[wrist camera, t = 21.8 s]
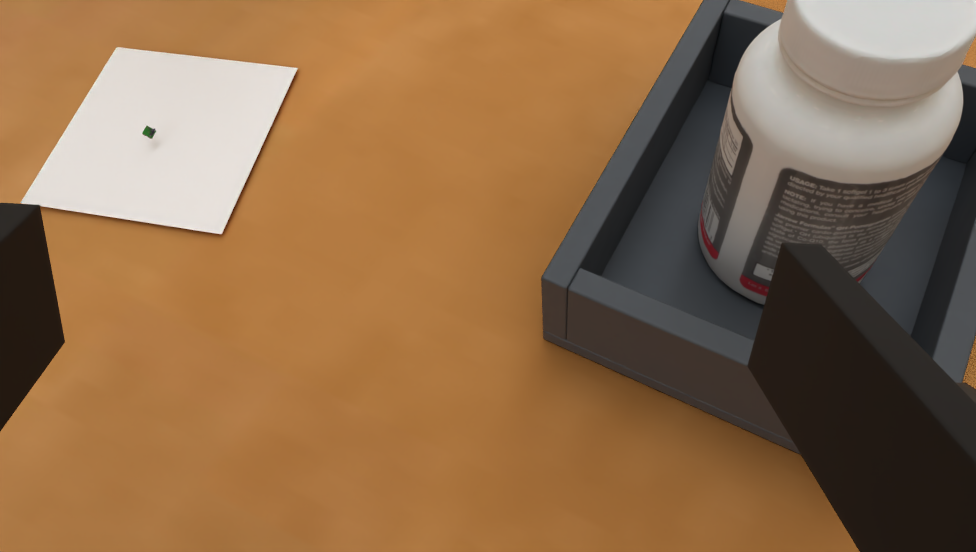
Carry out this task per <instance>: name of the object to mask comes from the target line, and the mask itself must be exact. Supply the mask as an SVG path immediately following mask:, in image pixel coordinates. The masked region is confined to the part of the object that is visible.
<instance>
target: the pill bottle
mask: <svg viewBox="0 0 976 552" xmlns="http://www.w3.org/2000/svg"><path fill="white" fill-rule="evenodd" d="M975 37H976V0H787V3H786V6H785V10H784V13H783V15H782V19H780V20H778V21H776V22H775V23H773V24H772V25H770V26H769V27H767V28H766V29H765V30H763V31H762V32H761V33H760V34H759V35H758V36H757V37H756V38H755V39H754V40H753V41H752V42H751V44H750V45H749V46H748V48H747V49H746V51H745V52H744V54H743V56H742V58H741V60H740V63H739V65H738V68H737V70H736V72H735V75H734V80H733V84H732V89H731V92H730V96H729V100H728V104H727V108H726V112H725V116H724V120H723V123H722V127H721V131H720V136H719V140H718V143H717V146H716V151H715V155H714V159H713V163H712V167H711V171H710V175H709V178H708V183H707V186H706V190H705V193H704V197H703V201H702V206H701V211H700V215H699V220H698V238H699V243H700V247H701V250H702V253H703V255H704V257H705V259H706V261H707V263H708V265H709V266H710V268H711V269H712V270H713V272H714V273H715V274H716V275H717V277H718V278H719V279H720V280H722V281H723V282H724V283H725V284H726V285H727V286H729V287H730V288H731V289H733V290H734V291H736V292H738V293H739V294H741V295H743V296H745V297H746V298H748V299H750V300H752V301H754V302H757V303H759V304H763V305H764V304H765V301H766V297H767V294H768V290H769V286H770V283H771V279H772V276H773V272H774V269H775V265H776V261H777V258H778V254H779V251H780V247H781V244H782V243H802V244H821V245H822V246H823V247H824V248H825V249H826V250H827V251H828V252H829V253H830V254H831V255H832V256H833V257H834V258H835V259H836V260H837V261H838V262H839V263H840V264H841V265H842V266H843V267H844V268H845V269H846V270H847V271H848V272H849V273H850V275H851V276H852V277H853V278H854V279H855V280H856V281H857V282H858V283H860V282H861V281H862V279H863V278H864V277H865V275H866V274H867V272H868V271H869V270H870V268H871V267H872V265H873V264H874V262H875V261H876V259H877V257H878V256H879V254H880V253H881V251H882V250H883V248H884V246H885V245H886V243H887V242H888V240H889V239H890V237H891V236H892V234H893V232H894V231H895V229H896V227H897V226H898V224H899V223H900V221H901V219H902V218H903V216H904V214H905V213H906V211H907V210H908V208H909V206H910V205H911V203H912V201H913V200H914V198H915V197H916V195H917V193H918V192H919V190H920V189H921V187H922V186H923V184H924V183H925V181H926V180H927V178H928V176H929V175H930V173H931V172H932V170H933V169H934V167H935V166H936V164H937V163H938V162H939V160H940V158H941V157H942V155H943V154H944V152H945V150H946V149H947V147H948V146H949V144H950V142H951V141H952V138H953V135H954V134H955V131H956V129H957V127H958V125H959V122H960V119H961V114H962V108H963V90H962V84H961V80H960V77H959V74H958V72H957V71H958V70H959V69H960V67H961V66H962V64H963V61H964V59H965V56H966V54H967V52H968V50H969V48H970V46H971V44H972V42H973V40H974V38H975Z"/></svg>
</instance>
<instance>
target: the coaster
mask: <svg viewBox="0 0 976 552" xmlns="http://www.w3.org/2000/svg"><path fill="white" fill-rule="evenodd" d="M297 69H298V68H293V67H284V66H275V65H267V64H258V63H249V62H241V61H232V60H223V59H215V58H206V57H197V56H189V55H180V54H171V53H163V52H154V51H145V50H137V49H128V48H120V47H116V49H115V51H114V52H113V54H112V56H111V57H110V59H109V60H108V62H107V64H106V65H105V67H104V68H103V70H102V72H101V73H100V75H99V77H98V78H97V80H96V81H95V83H94V85H93V86H92V88H91V90H90V91H89V93H88V94H87V96H86V98H85V99H84V101H83V102H82V104H81V106H80V107H79V109H78V111H77V112H76V114H75V115H74V117H73V119H72V120H71V122H70V124H69V125H68V127H67V128H66V130H65V132H64V133H63V135H62V136H61V138H60V140H59V141H58V143H57V145H56V146H55V148H54V149H53V151H52V153H51V154H50V156H49V158H48V159H47V161H46V162H45V164H44V166H43V167H42V169H41V170H40V172H39V174H38V175H37V177H36V179H35V180H34V182H33V183H32V185H31V187H30V188H29V190H28V192H27V193H26V195H25V196H24V198H23V200H22V201H21V203H24V204H33V205H40V206H43V207H50V208H56V209H62V210H69V211H75V212H82V213H88V214H95V215H101V216H107V217H114V218H120V219H127V220H133V221H140V222H146V223H152V224H159V225H165V226H172V227H178V228H184V229H191V230H197V231H204V232H210V233H217V234H222V232H223V230H224V228H225V226H226V224H227V221H228V219H229V217H230V215H231V213H232V210H233V208H234V206H235V204H236V202H237V200H238V197H239V195H240V193H241V191H242V189H243V186H244V184H245V182H246V180H247V178H248V176H249V173H250V171H251V169H252V167H253V165H254V162H255V160H256V158H257V156H258V154H259V152H260V149H261V147H262V145H263V143H264V141H265V138H266V136H267V134H268V132H269V130H270V127H271V125H272V123H273V121H274V119H275V117H276V114H277V112H278V110H279V108H280V106H281V103H282V101H283V99H284V97H285V95H286V93H287V90H288V88H289V86H290V84H291V82H292V79H293V77H294V75H295V73H296V71H297Z"/></svg>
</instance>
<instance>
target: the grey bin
mask: <svg viewBox="0 0 976 552" xmlns="http://www.w3.org/2000/svg"><path fill="white" fill-rule="evenodd" d="M782 15H783V13H782V12H778V11H775V10H771V9H768V8H765V7H761V6H758V5H754V4H751V3H747V2H744V1H740V0H703V2H702V3H701V5H700V7H699V9H698V10H697V12H696V14H695V15H694V17H693V19H692V21H691V22H690V24H689V26H688V27H687V29H686V31H685V33H684V34H683V36H682V38H681V39H680V41H679V43H678V44H677V46H676V48H675V50H674V51H673V53H672V55H671V56H670V58H669V60H668V62H667V63H666V65H665V67H664V68H663V70H662V72H661V74H660V75H659V77H658V79H657V80H656V82H655V84H654V86H653V87H652V89H651V91H650V92H649V94H648V96H647V98H646V99H645V101H644V103H643V104H642V106H641V108H640V110H639V111H638V113H637V115H636V116H635V118H634V120H633V121H632V123H631V125H630V127H629V128H628V130H627V132H626V133H625V135H624V137H623V139H622V140H621V142H620V144H619V145H618V147H617V149H616V151H615V152H614V154H613V156H612V157H611V159H610V161H609V163H608V164H607V166H606V168H605V169H604V171H603V173H602V175H601V176H600V178H599V180H598V181H597V183H596V185H595V186H594V188H593V190H592V192H591V193H590V195H589V197H588V198H587V200H586V202H585V204H584V205H583V207H582V209H581V210H580V212H579V214H578V216H577V217H576V219H575V221H574V222H573V224H572V226H571V228H570V229H569V231H568V233H567V234H566V236H565V238H564V240H563V241H562V243H561V245H560V246H559V248H558V250H557V251H556V253H555V255H554V257H553V258H552V260H551V262H550V263H549V265H548V267H547V269H546V270H545V272H544V274H543V275H542V278H541V281H542V313H543V338H544V339H545V340H547V341H550V342H552V343H554V344H556V345H559V346H561V347H563V348H565V349H567V350H570V351H572V352H574V353H576V354H579V355H581V356H583V357H585V358H587V359H590V360H592V361H594V362H596V363H599V364H601V365H603V366H605V367H607V368H610V369H612V370H614V371H616V372H619V373H621V374H623V375H625V376H627V377H630V378H632V379H634V380H636V381H639V382H641V383H643V384H645V385H647V386H650V387H652V388H654V389H656V390H659V391H661V392H663V393H665V394H667V395H670V396H672V397H674V398H676V399H679V400H681V401H683V402H685V403H687V404H690V405H692V406H694V407H696V408H699V409H701V410H703V411H705V412H707V413H710V414H712V415H714V416H716V417H719V418H721V419H723V420H725V421H727V422H730V423H732V424H734V425H736V426H738V427H741V428H743V429H745V430H747V431H750V432H752V433H754V434H756V435H758V436H761V437H763V438H765V439H767V440H770V441H772V442H774V443H776V444H778V445H781V446H783V447H785V448H787V449H790V450H792V451H794V452H796V453H798V454H800V452H799V451H798V449H797V447H796V446H795V444H794V442H793V441H792V439H791V437H790V436H789V434H788V432H787V431H786V429H785V427H784V426H783V424H782V423H781V421H780V419H779V418H778V416H777V414H776V413H775V411H774V409H773V408H772V406H771V404H770V403H769V401H768V399H767V398H766V396H765V395H764V393H763V391H762V390H761V388H760V386H759V385H758V383H757V381H756V380H755V378H754V376H753V375H752V373H751V371H750V370H749V368H748V367H747V365H748V361H749V358H750V354H751V351H752V347H753V344H754V340H755V336H756V333H757V329H758V326H759V322H760V319H761V315H762V311H763V308H764V305H763V304H759V303H757V302H754V301H752V300H750V299H748V298H746V297H745V296H743V295H741V294H739V293H738V292H736V291H734V290H733V289H731V288H730V287H729V286H727V285H726V284H725V283H724V282H723V281H722V280H720V279H719V278H718V277H717V275H716V274H715V273H714V272H713V270H712V269H711V268H710V266H709V265H708V263H707V261H706V259H705V257H704V255H703V253H702V250H701V247H700V243H699V238H698V220H699V215H700V211H701V206H702V201H703V197H704V193H705V190H706V186H707V183H708V178H709V175H710V171H711V167H712V163H713V159H714V155H715V151H716V146H717V143H718V140H719V136H720V131H721V127H722V123H723V120H724V116H725V112H726V108H727V104H728V100H729V96H730V92H731V89H732V84H733V80H734V75H735V72H736V70H737V68H738V65H739V63H740V60H741V58H742V56H743V54H744V52H745V51H746V49H747V48H748V46H749V45H750V44H751V42H752V41H753V40H754V39H755V38H756V37H757V36H758V35H759V34H760V33H761V32H762V31H763V30H765V29H766V28H767V27H769V26H770V25H772V24H773V23H775V22H776V21H778V20H780V19H782ZM957 72H958V74H959V77H960V80H961V84H962V90H963V108H962V114H961V119H960V122H959V125H958V127H957V129H956V131H955V134H954V135H953V138H952V141H951V142H950V144H949V146H948V147H947V149H946V150H945V152H944V154H943V155H942V157H941V158H940V160H939V162H938V163H937V164H936V166H935V167H934V169H933V170H932V172H931V173H930V175H929V176H928V178H927V180H926V181H925V183H924V184H923V186H922V187H921V189H920V190H919V192H918V193H917V195H916V197H915V198H914V200H913V201H912V203H911V205H910V206H909V208H908V210H907V211H906V213H905V214H904V216H903V218H902V219H901V221H900V223H899V224H898V226H897V227H896V229H895V231H894V232H893V234H892V236H891V237H890V239H889V240H888V242H887V243H886V245H885V246H884V248H883V250H882V251H881V253H880V254H879V256H878V257H877V259H876V261H875V262H874V264H873V265H872V267H871V268H870V270H869V271H868V272H867V274H866V275H865V277H864V278H863V279H862V281H861V282H860V283H859V284H860V285H861V286H862V287H863V288H864V289H865V290H866V291H867V292H868V293H869V294H870V295H871V296H872V297H873V298H874V299H875V300H876V301H877V302H878V303H879V304H880V305H881V306H882V307H883V308H884V309H885V311H886V312H887V313H888V314H889V315H890V316H891V317H892V318H893V319H894V320H895V321H896V322H897V323H898V324H899V325H900V326H901V327H902V328H903V329H904V330H905V331H906V332H907V333H908V334H909V335H910V336H911V337H912V338H913V339H914V340H915V341H916V342H917V343H918V344H919V345H920V347H921V348H922V349H923V350H924V351H925V352H926V353H927V354H928V355H929V356H930V357H931V358H932V359H933V360H934V361H935V362H936V363H937V364H938V365H939V366H940V367H941V368H942V369H943V370H944V371H945V372H946V373H947V374H948V375H949V376H950V377H951V378H952V379H953V380H954V381H955V383H962V382H963V378H964V374H965V371H966V367H967V364H968V360H969V357H970V353H971V350H972V346H973V343H974V339H975V336H976V68H973V67H969V66H966V65H962V66H961V67H960V69H959V70H958V71H957Z"/></svg>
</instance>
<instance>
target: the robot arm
mask: <svg viewBox="0 0 976 552" xmlns="http://www.w3.org/2000/svg"><path fill="white" fill-rule="evenodd" d="M64 343H65V340H64V334H63V329H62V324H61V318H60V313H59V307H58V302H57V296H56V291H55V286H54V280H53V275H52V269H51V264H50V259H49V253H48V248H47V242H46V237H45V231H44V226H43V221H42V215H41V210H40V205H33V204H14V203H0V431H1V430H2V428H3V427H4V425H5V424H6V423H7V421H8V420H9V419H10V417H11V416H12V414H13V413H14V412H15V410H16V409H17V407H18V406H19V405H20V403H21V402H22V401H23V399H24V398H25V396H26V395H27V394H28V392H29V391H30V390H31V388H32V387H33V385H34V384H35V383H36V381H37V380H38V378H39V377H40V376H41V374H42V373H43V372H44V370H45V369H46V367H47V366H48V365H49V363H50V362H51V360H52V359H53V358H54V356H55V355H56V354H57V352H58V351H59V349H60V348H61V347H62V345H63V344H64ZM747 367H748V368H749V370H750V371H751V373H752V375H753V376H754V378H755V380H756V381H757V383H758V385H759V386H760V388H761V390H762V391H763V393H764V395H765V396H766V398H767V399H768V401H769V403H770V404H771V406H772V408H773V409H774V411H775V413H776V414H777V416H778V418H779V419H780V421H781V423H782V424H783V426H784V427H785V429H786V431H787V432H788V434H789V436H790V437H791V439H792V441H793V442H794V444H795V446H796V447H797V449H798V451H799V452H800V454H801V456H802V457H803V459H804V460H805V462H806V464H807V465H808V467H809V469H810V470H811V472H812V474H813V475H814V477H815V479H816V480H817V482H818V484H819V485H820V487H821V488H822V490H823V492H824V493H825V495H826V497H827V498H828V500H829V502H830V503H831V505H832V507H833V508H834V510H835V512H836V513H837V515H838V516H839V518H840V520H841V521H842V523H843V525H844V526H845V528H846V530H847V531H848V533H849V535H850V536H851V538H852V540H853V541H854V543H855V545H856V546H857V548H858V549H859V551H860V552H976V389H974V388H973V387H971V386H970V385H968V384H966V383H955V381H954V380H953V379H952V378H951V377H950V376H949V375H948V374H947V373H946V372H945V371H944V370H943V369H942V368H941V367H940V366H939V365H938V364H937V363H936V362H935V361H934V360H933V359H932V358H931V357H930V356H929V355H928V354H927V353H926V352H925V351H924V350H923V349H922V348H921V347H920V345H919V344H918V343H917V342H916V341H915V340H914V339H913V338H912V337H911V336H910V335H909V334H908V333H907V332H906V331H905V330H904V329H903V328H902V327H901V326H900V325H899V324H898V323H897V322H896V321H895V320H894V319H893V318H892V317H891V316H890V315H889V314H888V313H887V312H886V311H885V309H884V308H883V307H882V306H881V305H880V304H879V303H878V302H877V301H876V300H875V299H874V298H873V297H872V296H871V295H870V294H869V293H868V292H867V291H866V290H865V289H864V288H863V287H862V286H861V285H860V284H859V283H858V282H857V281H856V280H855V279H854V278H853V277H852V276H851V275H850V273H849V272H848V271H847V270H846V269H845V268H844V267H843V266H842V265H841V264H840V263H839V262H838V261H837V260H836V259H835V258H834V257H833V256H832V255H831V254H830V253H829V252H828V251H827V250H826V249H825V248H824V247H823V246H822V245H821V244H802V243H782V244H781V247H780V251H779V254H778V258H777V261H776V265H775V269H774V272H773V276H772V279H771V283H770V286H769V290H768V294H767V297H766V301H765V304H764V308H763V311H762V315H761V319H760V322H759V326H758V329H757V333H756V336H755V340H754V344H753V347H752V351H751V354H750V358H749V361H748V365H747Z"/></svg>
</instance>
